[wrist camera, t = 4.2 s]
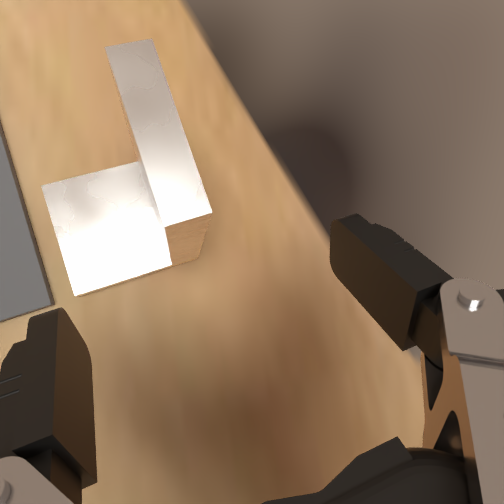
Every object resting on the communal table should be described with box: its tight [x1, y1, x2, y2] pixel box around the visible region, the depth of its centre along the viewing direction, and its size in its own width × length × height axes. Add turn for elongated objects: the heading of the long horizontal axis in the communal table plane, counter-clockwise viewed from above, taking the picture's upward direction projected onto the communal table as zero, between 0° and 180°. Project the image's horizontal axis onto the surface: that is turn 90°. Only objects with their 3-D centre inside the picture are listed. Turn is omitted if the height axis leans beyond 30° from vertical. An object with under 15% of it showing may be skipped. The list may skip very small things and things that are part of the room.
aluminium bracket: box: [41, 39, 212, 297], centre depth 16 cm, size 6×6×10 cm
